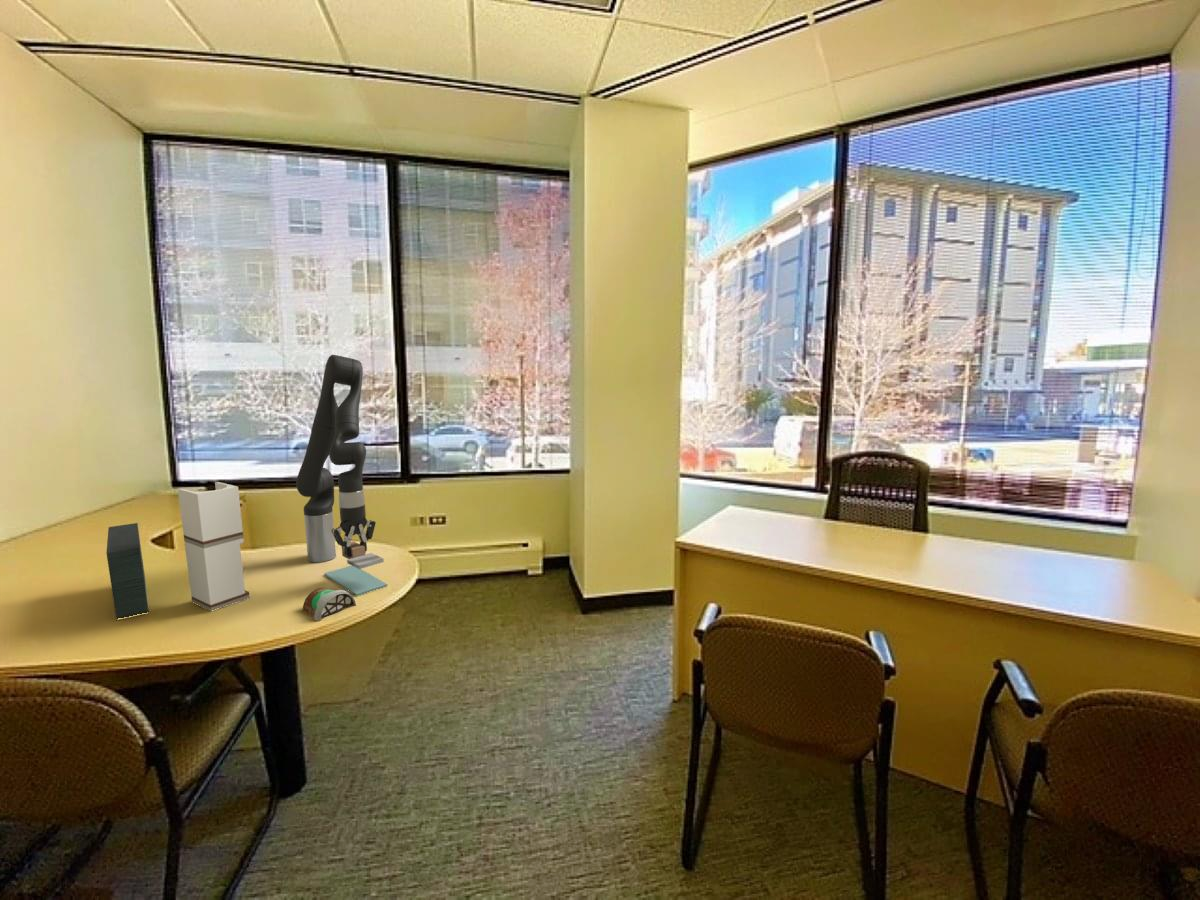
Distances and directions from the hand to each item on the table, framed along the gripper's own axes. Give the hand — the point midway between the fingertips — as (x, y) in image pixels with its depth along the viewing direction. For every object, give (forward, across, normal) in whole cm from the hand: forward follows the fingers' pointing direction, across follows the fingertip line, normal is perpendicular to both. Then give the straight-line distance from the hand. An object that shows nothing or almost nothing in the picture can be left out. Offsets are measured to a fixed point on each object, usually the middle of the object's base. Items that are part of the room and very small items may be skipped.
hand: (356, 554), depth 181 cm
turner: (+1, 0, +2) cm, 3 cm away
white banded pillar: (+9, +34, -17) cm, 39 cm away
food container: (+6, +16, +8) cm, 19 cm away
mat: (+9, 0, -1) cm, 9 cm away
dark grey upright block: (+9, +52, -37) cm, 64 cm away
